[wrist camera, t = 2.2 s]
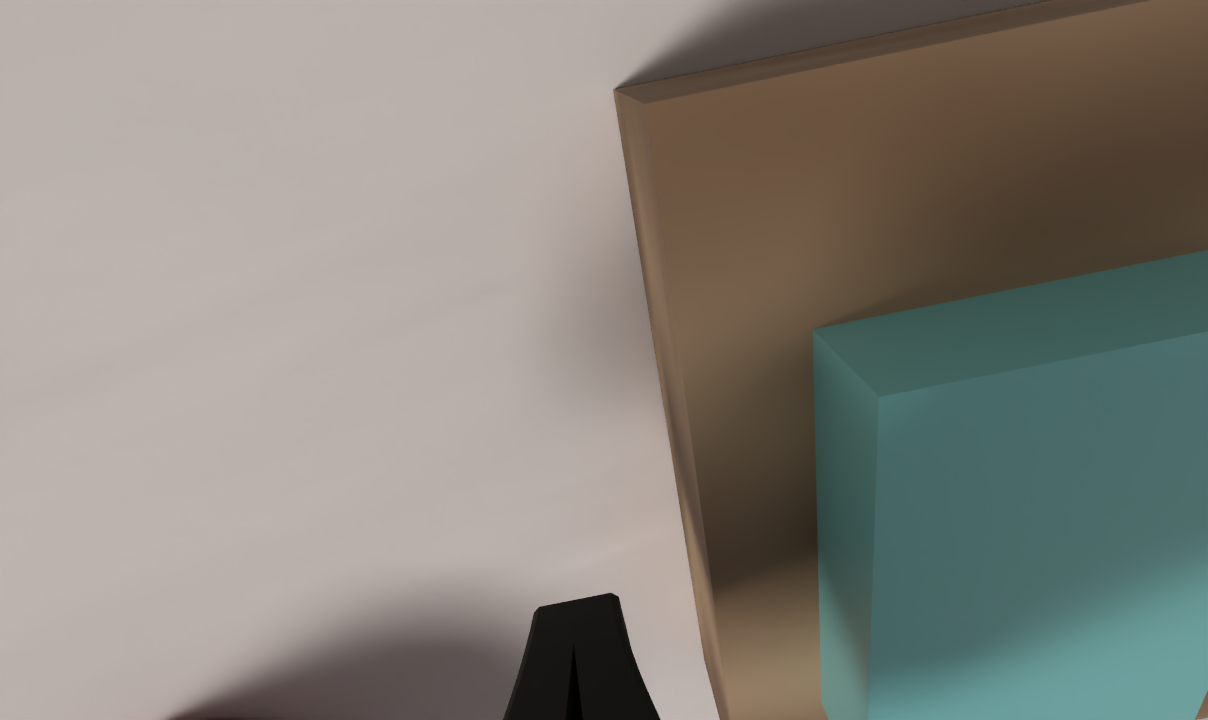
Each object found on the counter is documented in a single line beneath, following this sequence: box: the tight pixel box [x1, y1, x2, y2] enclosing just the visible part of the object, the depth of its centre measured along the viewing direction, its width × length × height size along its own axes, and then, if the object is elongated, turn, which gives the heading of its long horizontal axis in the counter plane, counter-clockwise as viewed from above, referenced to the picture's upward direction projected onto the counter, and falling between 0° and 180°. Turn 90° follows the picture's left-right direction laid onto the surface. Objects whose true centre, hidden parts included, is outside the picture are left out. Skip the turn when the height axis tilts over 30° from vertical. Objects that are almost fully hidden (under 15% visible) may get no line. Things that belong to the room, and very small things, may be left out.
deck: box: [613, 0, 1208, 720], centre depth 13 cm, size 16×12×4 cm
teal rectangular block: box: [813, 250, 1208, 720], centre depth 10 cm, size 9×6×2 cm, turn 11°
